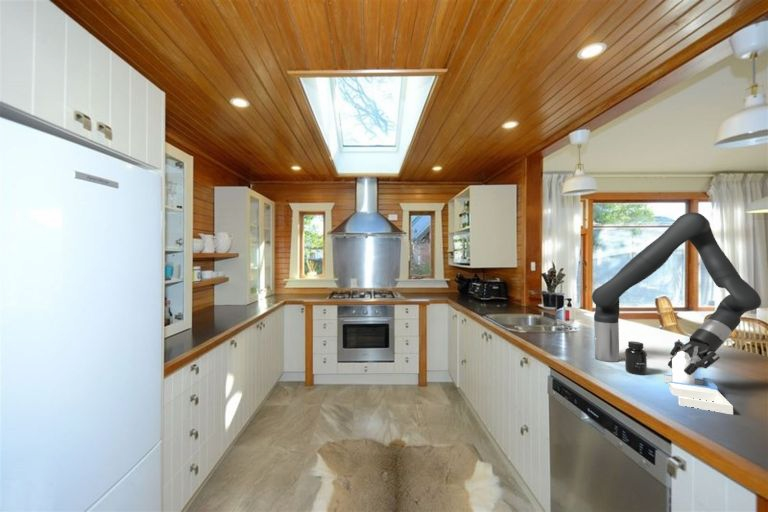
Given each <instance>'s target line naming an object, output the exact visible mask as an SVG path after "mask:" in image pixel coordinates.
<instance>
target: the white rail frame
mask: <svg viewBox="0 0 768 512" xmlns="http://www.w3.org/2000/svg"><path fill="white" fill-rule="evenodd" d="M663 377H664V378H663V379H664V380H663V382H664V383H665V384H669V387H668V388H669V391H670V393H671V394H672V396H675V397H677V398H678V405H679V406H680V407H685V406H687V408H691V407H694V408H693V409H697V408H699V409H698V410H703V411H708V410H710V411H709V412H714V411H715V413H716V412H717V413H722V414H726V415H734V406H733V404H731V403H730V402H729V401H728V399H726V397H724V395H722V394H721V392H720V391H719V390H718V386H717V384H715V383H714V381H712V380H711V379H710V378H709V377H708V378H707V377H702V378H696V377H695V385H692V384H685V383H678V382H673V377H672V375H671V374H663ZM693 398H694V399H693ZM699 399H701V400H699ZM706 400H707V401H706ZM712 401H714V402H712Z"/></svg>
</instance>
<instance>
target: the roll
mask: <svg viewBox="0 0 768 512" xmlns="http://www.w3.org/2000/svg"><path fill="white" fill-rule="evenodd" d="M692 361H693V358H692V357H690V356H689V354H687V353H686V352H684V351H680V352H677V355H676V356H675V357H674V358H673V359H672V368H671V369H672V370H671V371H672V372H671V373H672V377H673V382H678V383H685V384H692V385H695V378H696V375H695V374H696V371H695V372H694V373H693V374H691V375H688V374H686V373H685V372H684V369H685V368H686V367H687V366H688V365H689V364H690V363H692Z"/></svg>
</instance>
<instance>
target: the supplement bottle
mask: <svg viewBox="0 0 768 512" xmlns="http://www.w3.org/2000/svg"><path fill="white" fill-rule="evenodd" d="M624 352H625V353H624V354H625V359H624V362H625V363H624V364H625V367H624V368H625V371H626V372H627V373H629V374H634V375H639V376H644V375H645V376H646V374H647V373H648V371H647V367H648V366H647V365H648V364H647V363H648V361H647V351H645V350H644V343H643V342H639V341H628V344H627V348H625V351H624Z"/></svg>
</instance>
